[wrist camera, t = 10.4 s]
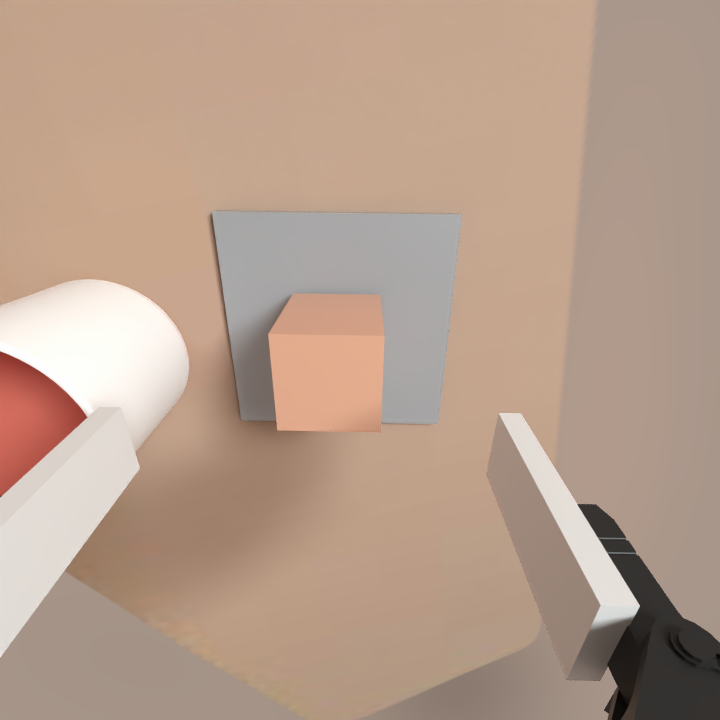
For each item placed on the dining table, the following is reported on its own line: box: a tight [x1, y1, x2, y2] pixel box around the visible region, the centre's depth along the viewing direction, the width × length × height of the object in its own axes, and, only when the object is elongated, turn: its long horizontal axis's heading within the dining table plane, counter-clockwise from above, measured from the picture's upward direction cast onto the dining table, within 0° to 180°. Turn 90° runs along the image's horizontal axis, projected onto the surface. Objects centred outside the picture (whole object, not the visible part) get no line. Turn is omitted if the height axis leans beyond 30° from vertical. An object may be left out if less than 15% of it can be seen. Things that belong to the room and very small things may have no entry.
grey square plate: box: [212, 211, 462, 424], centre depth 22 cm, size 14×14×7 cm
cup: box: [0, 279, 189, 496], centre depth 22 cm, size 10×10×10 cm
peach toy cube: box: [268, 293, 385, 432], centre depth 22 cm, size 5×5×7 cm
